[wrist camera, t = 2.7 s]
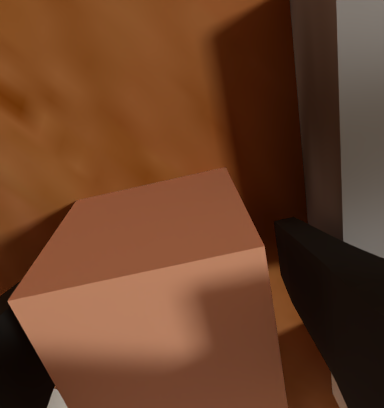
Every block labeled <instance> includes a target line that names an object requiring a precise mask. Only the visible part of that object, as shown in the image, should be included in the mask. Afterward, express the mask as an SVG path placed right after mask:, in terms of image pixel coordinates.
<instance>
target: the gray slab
mask: <svg viewBox="0 0 384 408" xmlns="http://www.w3.org/2000/svg"><path fill="white" fill-rule="evenodd" d="M290 9H291V22H292V34H293V46H294V58H295V71H296V83H297V95H298V107H299V120H300V132H301V144H302V156H303V169H304V181H305V193H306V205H307V218H308V224H309V225H311V226H313V227H315V228H317V229H319V230H321V231H323V232H325V233H327V234H329V235H331V236H333V237H335V238H337V239H339V240H342V241H344V242H346V243H348V244H350V245H353V246H355V247H357V248H359V249H362V250H364V251H367V252H369V253H372V254H374V255H377V256H379V257H382V258H384V0H290Z"/></svg>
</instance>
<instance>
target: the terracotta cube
mask: <svg viewBox="0 0 384 408" xmlns="http://www.w3.org/2000/svg"><path fill="white" fill-rule="evenodd" d="M7 302H8V303H9V305H10V307H11V309H12V310H13V312H14V314H15V316H16V317H17V319H18V321H19V323H20V324H21V326H22V328H23V330H24V331H25V333H26V335H27V337H28V339H29V340H30V342H31V344H32V346H33V347H34V349H35V351H36V353H37V354H38V356H39V358H40V360H41V361H42V363H43V365H44V367H45V368H46V370H47V372H48V374H49V376H50V377H51V379H52V381H53V383H54V384H55V386H56V388H57V390H58V391H59V393H60V395H61V397H62V398H63V400H64V402H65V404H66V405H67V407H68V408H288V404H287V397H286V390H285V383H284V376H283V369H282V363H281V356H280V349H279V342H278V335H277V328H276V321H275V314H274V307H273V301H272V294H271V287H270V280H269V273H268V266H267V259H266V252H265V246H264V244H263V242H262V240H261V238H260V236H259V234H258V232H257V230H256V228H255V226H254V224H253V222H252V220H251V218H250V216H249V214H248V212H247V210H246V208H245V206H244V204H243V201H242V199H241V197H240V195H239V193H238V191H237V189H236V187H235V185H234V183H233V181H232V179H231V177H230V175H229V173H228V171H227V169H226V167H224V168H220V169H215V170H211V171H206V172H202V173H197V174H193V175H188V176H184V177H179V178H175V179H170V180H166V181H161V182H157V183H153V184H148V185H144V186H139V187H135V188H130V189H126V190H121V191H117V192H112V193H108V194H103V195H99V196H94V197H90V198H85V199H81V200H77V201H76V202H75V203H74V205H73V206H72V208H71V209H70V211H69V212H68V213H67V215H66V216H65V218H64V219H63V221H62V222H61V224H60V225H59V227H58V228H57V229H56V231H55V232H54V234H53V235H52V237H51V238H50V240H49V241H48V243H47V244H46V245H45V247H44V248H43V250H42V251H41V253H40V254H39V256H38V257H37V259H36V260H35V261H34V263H33V264H32V266H31V267H30V269H29V270H28V272H27V273H26V275H25V276H24V277H23V279H22V280H21V282H20V283H19V285H18V286H17V288H16V289H15V291H14V292H13V293H12V295H11V296H10V298H9V299H8V301H7Z"/></svg>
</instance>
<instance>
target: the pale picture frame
mask: <svg viewBox="0 0 384 408" xmlns="http://www.w3.org/2000/svg"><path fill="white" fill-rule="evenodd" d="M47 408H68V407H67V405H66V404H65V402H64V400H63V398H62V397H61V395H60V393H59V391H58V390H57V389H53V392H52V395H51V398H50V401H49V404H48V406H47Z"/></svg>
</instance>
